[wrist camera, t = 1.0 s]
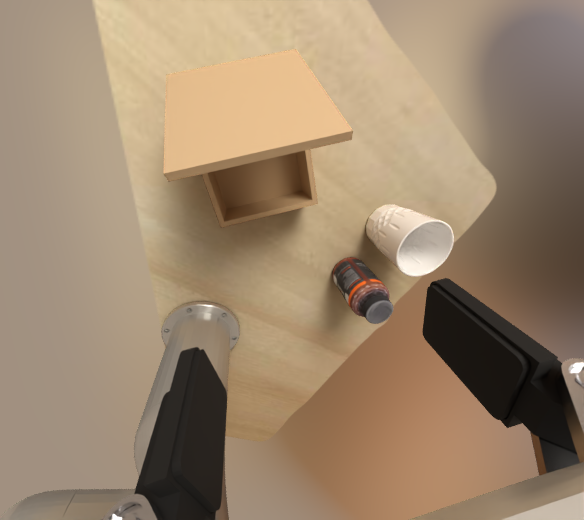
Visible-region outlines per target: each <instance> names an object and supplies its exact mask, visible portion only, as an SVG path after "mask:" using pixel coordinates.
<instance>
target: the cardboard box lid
mask: <svg viewBox="0 0 584 520" xmlns="http://www.w3.org/2000/svg"><path fill="white" fill-rule="evenodd" d="M352 133H353V130H352V129H351V127H350V126H349V124H348V123H347V122H346V120H345V119H344V117H343V116H342V114H341V113H340V111H339V110H338V109H337V107H336V106H335V104H334V103H333V101H332V100H331V99H330V97H329V96H328V94H327V93H326V91H325V90H324V89H323V87H322V86H321V84H320V83H319V81H318V80H317V78H316V77H315V76H314V74H313V73H312V71H311V70H310V68H309V67H308V66H307V64H306V63H305V61H304V60H303V58H302V57H301V55H300V54H299V53H298V51H297V50H296V49H293V50H288V51H283V52H278V53H273V54H268V55H263V56H258V57H253V58H248V59H242V60H237V61H232V62H227V63H222V64H217V65H212V66H207V67H202V68H197V69H192V70H187V71H182V72H177V73H172V74H167V75H166V104H165V139H164V175H165V177H166V178H167V180H168V181H174V180H178V179H182V178H187V177H191V176H195V175H200V174H204V173H209V172H213V171H217V170H222V169H226V168H230V167H235V166H239V165H243V164H248V163H252V162H256V161H261V160H265V159H270V158H274V157H278V156H283V155H287V154H291V153H296V152H300V151H304V150H309V149H313V148H317V147H322V146H326V145H331V144H335V143H339V142H344V141H348V140H352Z"/></svg>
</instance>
